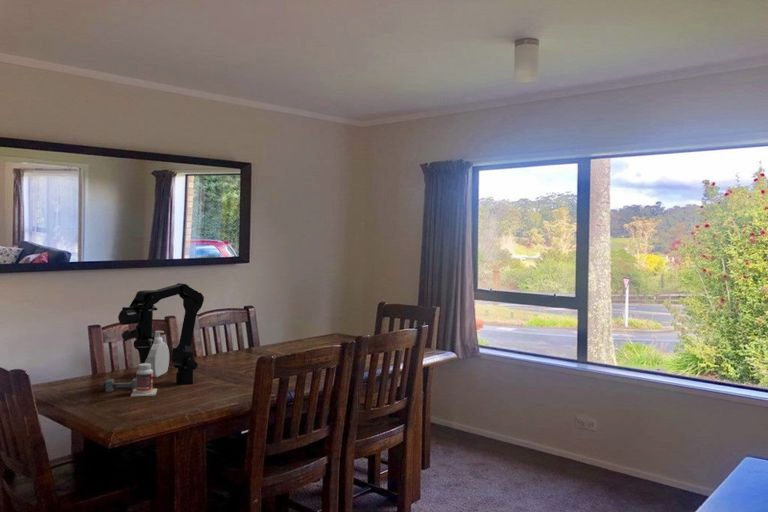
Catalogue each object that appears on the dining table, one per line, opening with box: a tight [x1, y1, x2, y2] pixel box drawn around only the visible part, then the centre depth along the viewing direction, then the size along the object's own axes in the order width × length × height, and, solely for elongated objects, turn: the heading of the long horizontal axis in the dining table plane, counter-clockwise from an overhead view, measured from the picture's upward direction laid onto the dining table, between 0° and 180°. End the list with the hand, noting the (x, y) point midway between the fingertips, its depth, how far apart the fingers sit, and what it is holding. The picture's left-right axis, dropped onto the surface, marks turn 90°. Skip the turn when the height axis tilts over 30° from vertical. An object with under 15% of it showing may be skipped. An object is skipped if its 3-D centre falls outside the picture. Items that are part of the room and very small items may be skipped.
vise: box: [98, 377, 136, 393], centre depth 246 cm, size 15×8×4 cm, turn 106°
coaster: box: [130, 388, 158, 398], centre depth 241 cm, size 9×9×1 cm
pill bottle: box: [135, 363, 154, 393], centre depth 241 cm, size 6×6×11 cm
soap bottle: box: [145, 330, 170, 378], centre depth 273 cm, size 16×5×20 cm, turn 177°
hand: (144, 360), depth 241 cm, fingers open, 9 cm apart
